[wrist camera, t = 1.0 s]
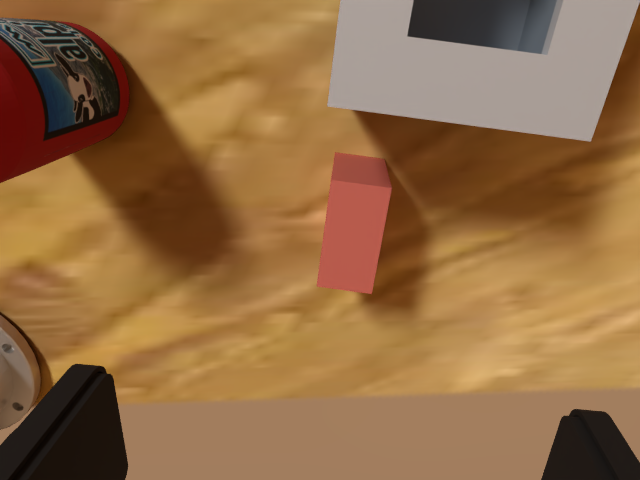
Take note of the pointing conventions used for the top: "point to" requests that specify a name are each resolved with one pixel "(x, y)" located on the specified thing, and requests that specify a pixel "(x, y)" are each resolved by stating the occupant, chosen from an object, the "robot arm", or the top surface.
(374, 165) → the block
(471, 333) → the top surface
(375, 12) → the grey box
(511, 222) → the top surface
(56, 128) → the beverage can
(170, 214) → the top surface
